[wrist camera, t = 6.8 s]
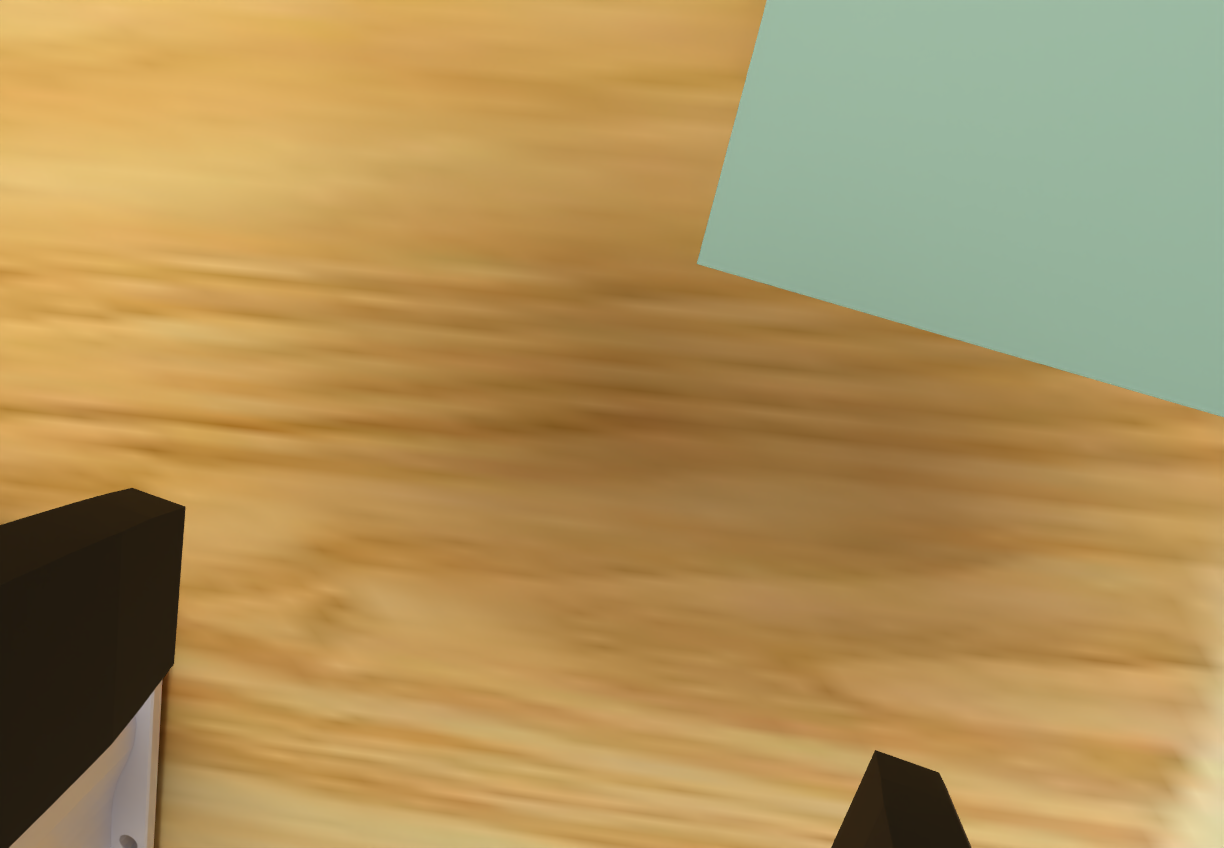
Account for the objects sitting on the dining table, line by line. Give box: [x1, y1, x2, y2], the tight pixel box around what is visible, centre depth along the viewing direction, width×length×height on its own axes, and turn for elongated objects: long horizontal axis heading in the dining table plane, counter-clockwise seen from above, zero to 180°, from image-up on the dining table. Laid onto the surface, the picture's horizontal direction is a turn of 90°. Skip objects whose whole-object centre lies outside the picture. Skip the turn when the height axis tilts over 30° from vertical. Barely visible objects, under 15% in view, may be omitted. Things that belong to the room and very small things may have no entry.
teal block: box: [697, 0, 1224, 417], centre depth 10 cm, size 4×4×4 cm
